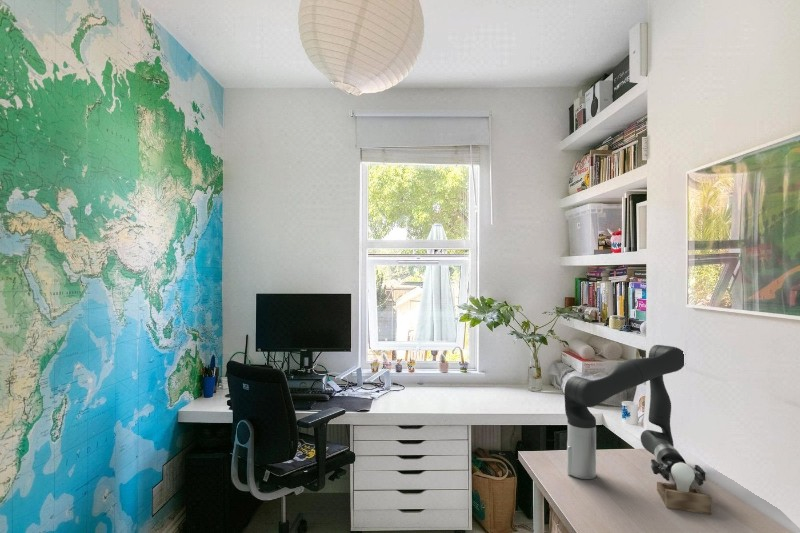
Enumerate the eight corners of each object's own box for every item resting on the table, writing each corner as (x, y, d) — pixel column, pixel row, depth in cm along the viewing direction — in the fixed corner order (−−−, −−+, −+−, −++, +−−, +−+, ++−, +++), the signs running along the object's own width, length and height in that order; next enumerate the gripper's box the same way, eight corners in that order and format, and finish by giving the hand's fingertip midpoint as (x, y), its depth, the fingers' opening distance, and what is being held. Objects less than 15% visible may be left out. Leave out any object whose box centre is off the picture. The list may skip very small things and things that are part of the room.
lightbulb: (698, 505, 130) (698, 468, 130) (676, 503, 131) (676, 466, 131) (689, 495, 136) (689, 460, 136) (667, 493, 137) (667, 458, 137)
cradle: (666, 507, 130) (666, 490, 130) (656, 489, 140) (656, 474, 141) (711, 514, 126) (711, 497, 126) (697, 495, 137) (697, 479, 137)
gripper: (645, 444, 150) (657, 464, 134) (693, 450, 145) (711, 471, 130) (645, 466, 149) (657, 488, 134) (693, 473, 145) (711, 496, 130)
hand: (684, 480), depth 132 cm, fingers open, 8 cm apart
